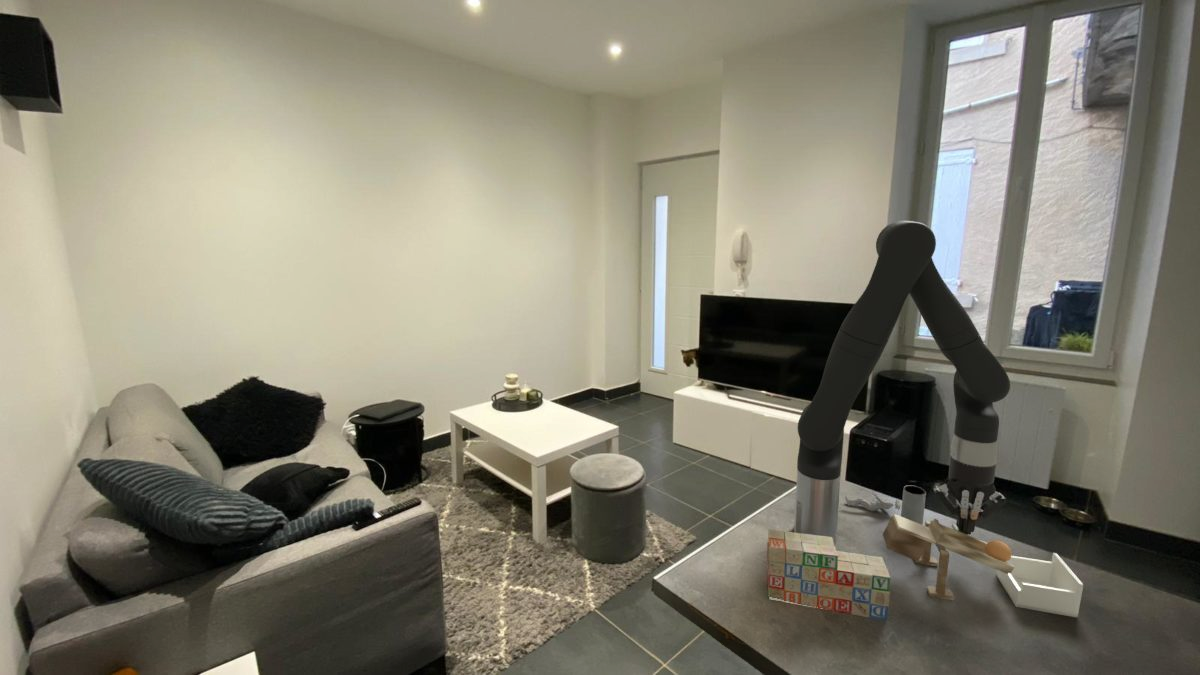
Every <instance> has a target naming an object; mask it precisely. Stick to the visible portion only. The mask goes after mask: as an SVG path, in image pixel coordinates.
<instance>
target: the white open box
mask: <svg viewBox="0 0 1200 675" xmlns="http://www.w3.org/2000/svg"><path fill="white" fill-rule="evenodd" d="M1051 556H1052V558H1051V561H1050V560H1042V559H1036V558H1030V557H1024V556H1016V555H1011V558H1010V560H1009V561H1007V562H1005V563H1008V564H1010V565H1013V566H1014V569H1013V570H1012V572H1011V573H1008V574H1006V573H1004V572H1001V571H999V570H996V573H995V575H996V577H997V578H998V581H999V582H1000V584H1001V585H1002V587H1003V588H1004V590H1005V591H1006V593H1007V594H1008V596H1009V598H1010V600H1011V601H1012V602H1013V604H1014V605H1015V607H1017V608H1021V609H1027V610H1031V611H1032V610H1033V611H1039V612H1044V613H1051V614H1054V615H1055V614H1056V615H1060V616H1067V617H1072V618H1079V611H1080V605H1081V601H1082V595H1083V594H1082V593H1083V589H1084V584H1083V582H1082V581H1081V580H1080V579H1079V577H1078V576H1077V575H1076V574H1075V573H1074V572H1073V571H1072V569H1071V568H1070V567H1069V565H1067V563H1066V562H1065V561H1064V560H1063V558H1062V557H1060V556H1059V554H1058V553H1057V552H1052V555H1051Z"/></svg>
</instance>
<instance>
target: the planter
mask: <svg viewBox="0 0 1200 675" xmlns="http://www.w3.org/2000/svg"><path fill="white" fill-rule="evenodd" d="M926 496H927V492H926V490H925V489H923V488H922V487H919V486H916V485H913V484H912V485H905V486H903V489H902V499H901V500H902V501H901V508H900V509H901V510H900V516H901V517H904V518H906V519H909V520H911V521H914V522H916V523H919V524H921V525H924V516H925V506H926Z"/></svg>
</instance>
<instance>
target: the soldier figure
mask: <svg viewBox="0 0 1200 675" xmlns="http://www.w3.org/2000/svg"><path fill="white" fill-rule="evenodd" d="M870 493H871V494H872V495H873V496H875V499H876V500H875V499H872V501H871V503H870V502H869V501H867V500H865V499H864V498H861V497H858V498H853V499H849V497H848V495H845V497H844V498H845V501H846V504H847V506H848V507H850V506H862V507H863V508H865V510H867V511H870V512H875V511H880V510H890V509H891V508H892V507H894V508H895V510H898V511H900V509H901V507H902V503H901V502H900V500H899V499H898V498H896V499H895V500H893V502H891V500H882V499H881V498H880V497H879V496H878V495H877V494H876V493H875V491H870ZM893 503H894V504H893Z"/></svg>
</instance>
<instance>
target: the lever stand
mask: <svg viewBox="0 0 1200 675" xmlns="http://www.w3.org/2000/svg"><path fill="white" fill-rule="evenodd" d="M931 521H932V520H925V522H924V526H926V527H928V526H929V525H930V523H931ZM932 544H933V543H930V542H929V544H928V546H927V547H926V549H925V551H924V552H923V554H922V556H921V558H920V559H919V561H916V560H914V561H915V563H916V564H919V565H927V566H933V567H937V575H936V576H937V577H936V582H935V586H931V585H930V586H929V585H926V591H927V593H928V595H929V597H932V598H938V599H942V600H947V601H954V599H955V596H954V594H953V592H952V590H951V589H946V587H947V580H948V579H947V578H948V571H949V570H948V569H949V561H950V553H949V550H946V551H945V550H940V552H939V557H938V558H939V559H938V560H937V559H936V558H937V557H935V556H931V554H932V552H931V551H932Z"/></svg>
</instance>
